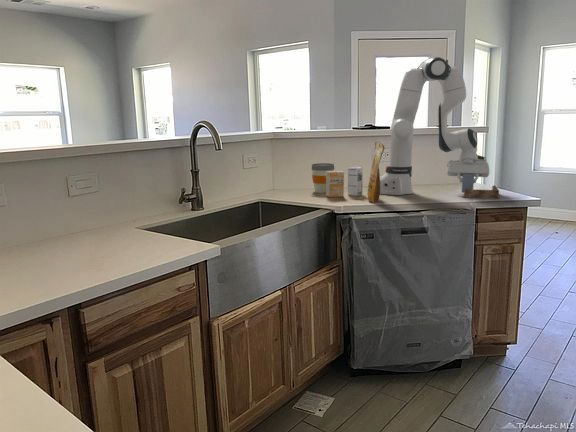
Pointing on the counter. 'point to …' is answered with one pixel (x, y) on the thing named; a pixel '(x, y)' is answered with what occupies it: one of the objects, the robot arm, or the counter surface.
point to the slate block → (467, 182)
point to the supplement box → (334, 183)
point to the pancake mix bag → (375, 174)
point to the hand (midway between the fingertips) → (467, 182)
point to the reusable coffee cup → (320, 175)
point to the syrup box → (355, 181)
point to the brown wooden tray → (482, 193)
